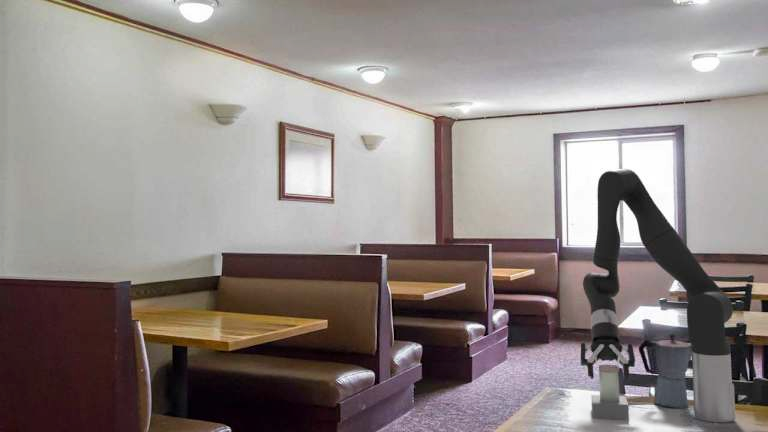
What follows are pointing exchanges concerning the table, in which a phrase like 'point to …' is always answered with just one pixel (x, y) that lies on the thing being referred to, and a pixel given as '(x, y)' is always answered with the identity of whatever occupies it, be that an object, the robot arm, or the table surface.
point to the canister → (609, 383)
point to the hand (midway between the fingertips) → (608, 377)
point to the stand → (610, 408)
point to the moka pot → (669, 370)
